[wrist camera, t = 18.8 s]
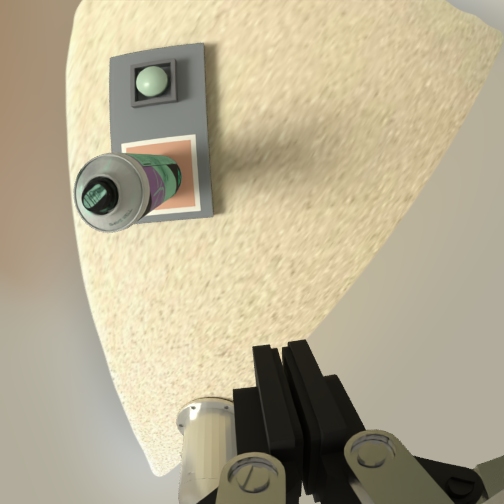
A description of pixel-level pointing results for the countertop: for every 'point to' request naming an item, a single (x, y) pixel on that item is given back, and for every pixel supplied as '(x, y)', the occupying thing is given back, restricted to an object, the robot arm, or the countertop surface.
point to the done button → (152, 81)
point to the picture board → (166, 123)
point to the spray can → (124, 188)
